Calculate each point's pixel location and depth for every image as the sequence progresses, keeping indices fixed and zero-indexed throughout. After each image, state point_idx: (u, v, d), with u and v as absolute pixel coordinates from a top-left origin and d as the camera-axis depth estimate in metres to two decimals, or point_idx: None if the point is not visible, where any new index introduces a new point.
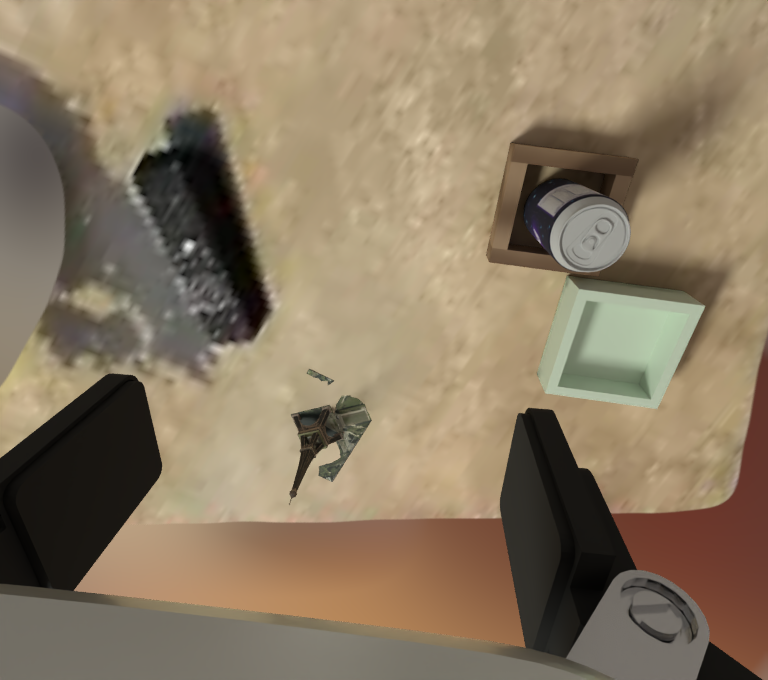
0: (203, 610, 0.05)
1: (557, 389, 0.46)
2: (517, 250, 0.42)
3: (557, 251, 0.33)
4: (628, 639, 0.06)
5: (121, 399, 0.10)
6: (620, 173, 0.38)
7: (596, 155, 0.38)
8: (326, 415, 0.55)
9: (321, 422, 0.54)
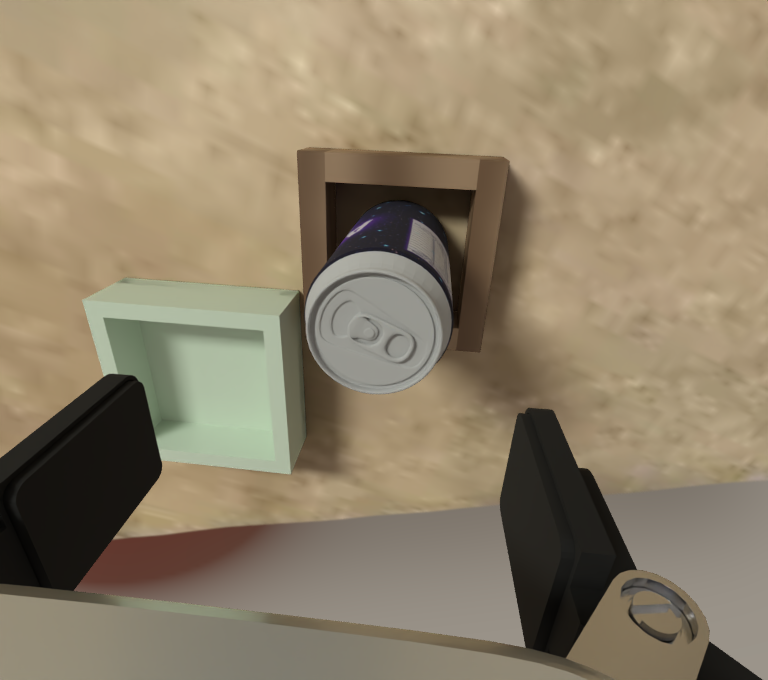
0: (203, 610, 0.05)
1: (97, 318, 0.26)
2: (326, 201, 0.23)
3: (339, 272, 0.15)
4: (628, 639, 0.06)
5: (121, 399, 0.10)
6: (460, 333, 0.26)
7: (487, 295, 0.25)
8: None
9: None
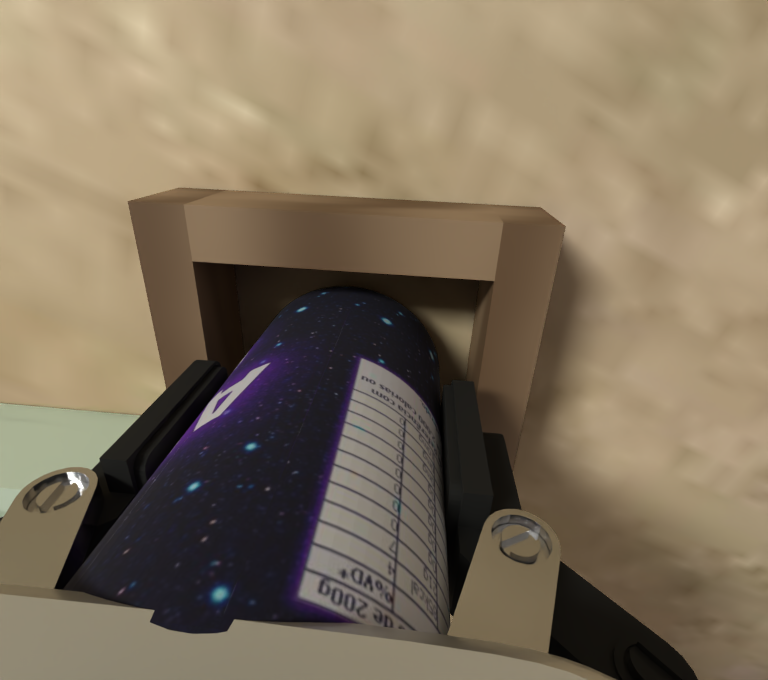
0: None
1: None
2: (202, 294, 0.12)
3: None
4: (503, 571, 0.07)
5: (212, 382, 0.11)
6: None
7: (511, 461, 0.13)
8: None
9: None
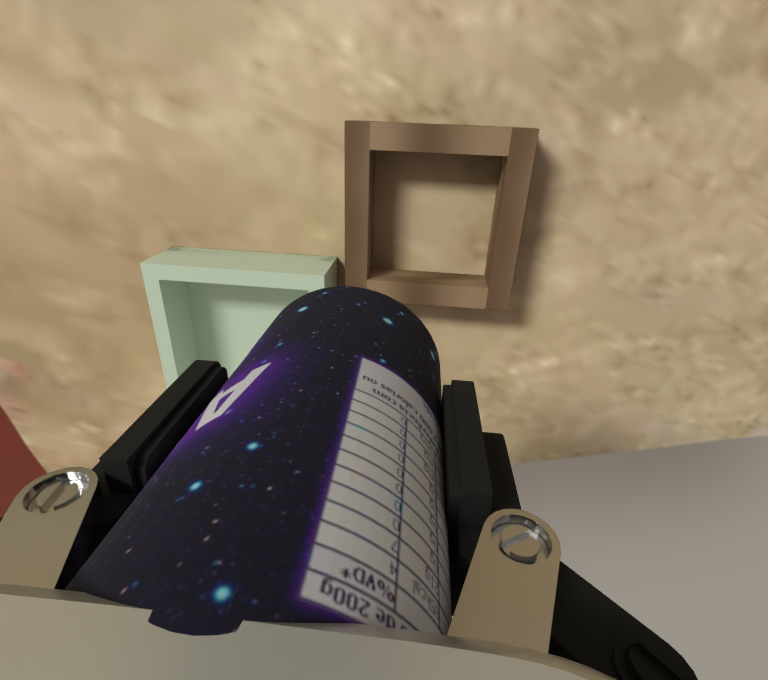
0: None
1: (153, 281, 0.28)
2: (369, 168, 0.26)
3: None
4: (503, 571, 0.07)
5: (212, 382, 0.11)
6: (490, 293, 0.28)
7: (515, 256, 0.27)
8: None
9: None
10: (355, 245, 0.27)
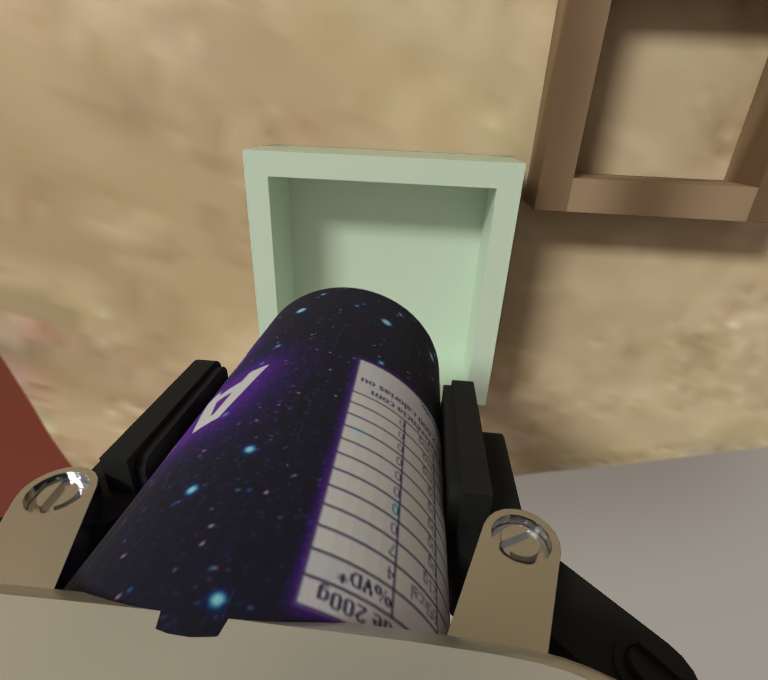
0: None
1: (259, 179, 0.19)
2: None
3: None
4: (502, 571, 0.07)
5: (212, 382, 0.11)
6: (759, 195, 0.19)
7: None
8: None
9: None
10: (566, 122, 0.18)
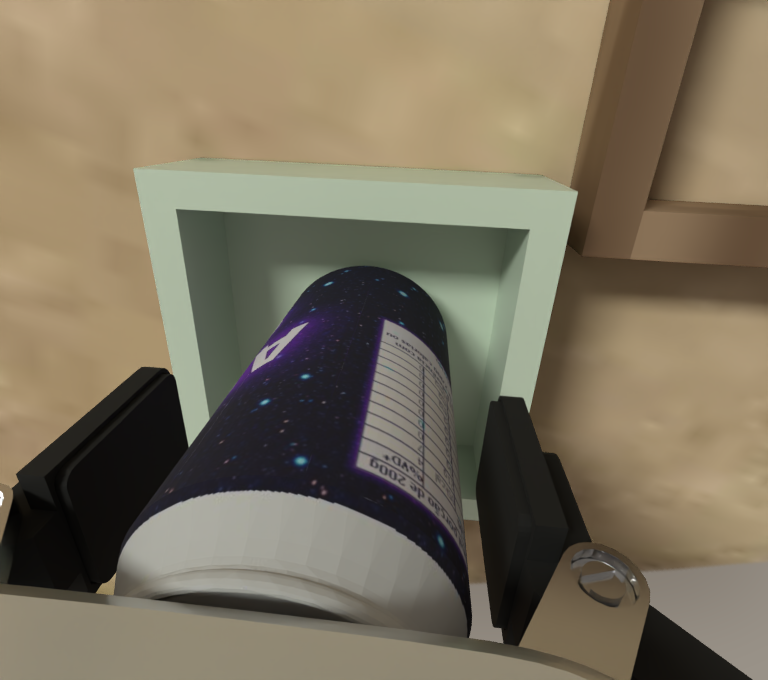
0: (203, 610, 0.05)
1: (163, 213, 0.12)
2: None
3: (165, 554, 0.06)
4: (579, 608, 0.06)
5: (156, 391, 0.10)
6: None
7: None
8: None
9: None
10: (639, 126, 0.12)
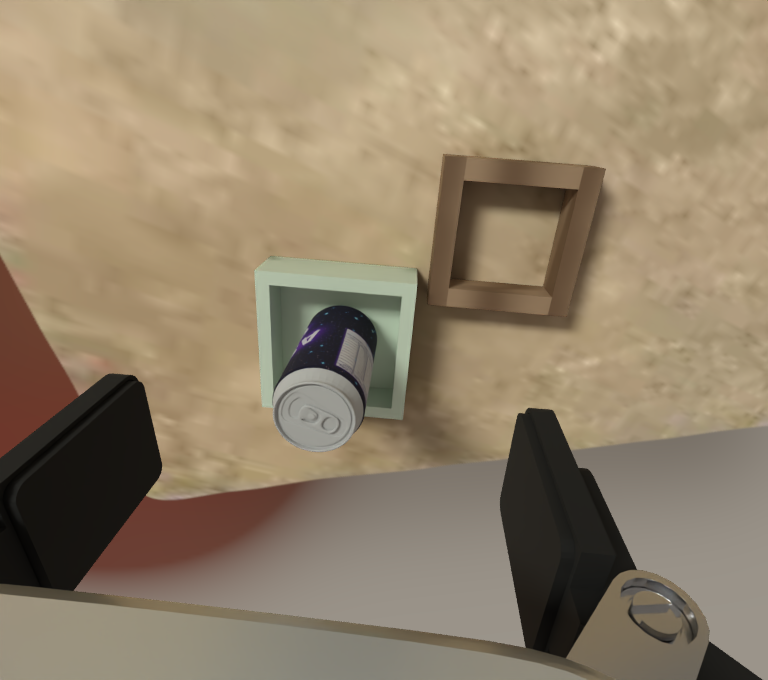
0: (203, 610, 0.05)
1: (264, 286, 0.32)
2: None
3: (293, 380, 0.26)
4: (628, 639, 0.06)
5: (121, 399, 0.10)
6: (553, 301, 0.33)
7: (577, 271, 0.32)
8: None
9: None
10: (442, 259, 0.32)
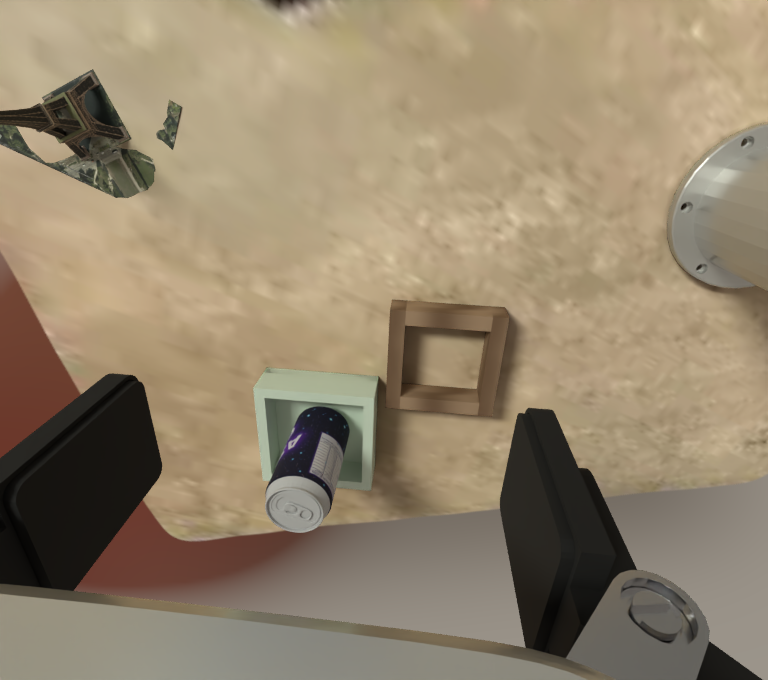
0: (203, 610, 0.05)
1: (260, 398, 0.43)
2: (404, 334, 0.41)
3: (279, 486, 0.36)
4: (628, 639, 0.06)
5: (121, 399, 0.10)
6: (480, 406, 0.43)
7: (496, 385, 0.42)
8: (113, 135, 0.37)
9: (99, 131, 0.36)
10: (393, 377, 0.42)
